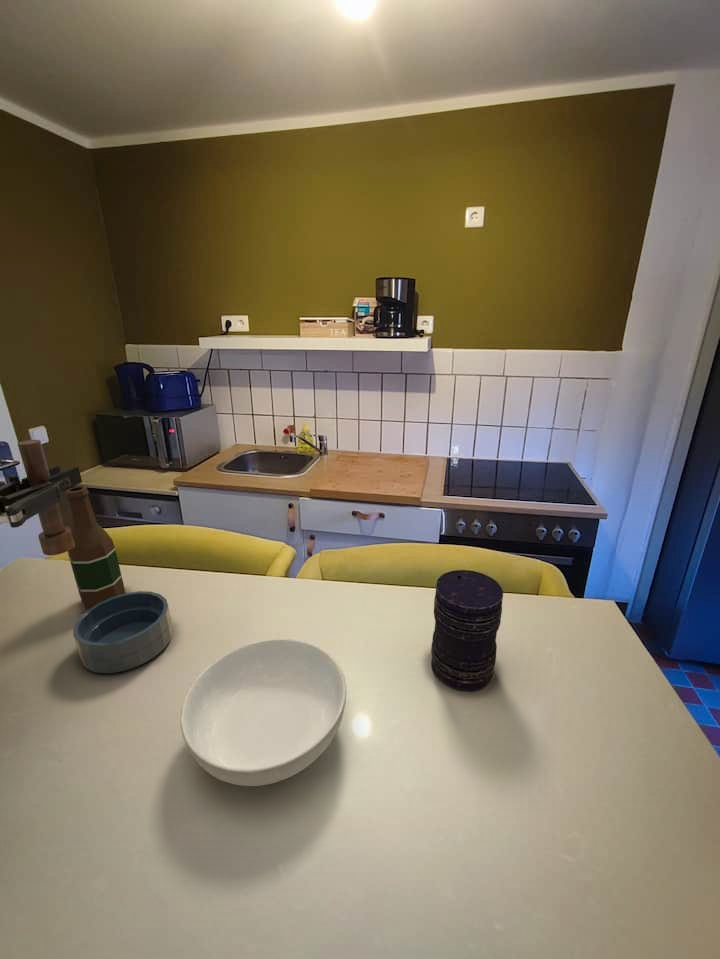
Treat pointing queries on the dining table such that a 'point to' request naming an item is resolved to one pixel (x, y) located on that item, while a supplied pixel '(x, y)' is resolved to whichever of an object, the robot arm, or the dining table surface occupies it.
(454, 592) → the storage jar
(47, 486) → the robot arm
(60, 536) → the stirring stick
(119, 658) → the blue round dish
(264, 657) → the serving bowl
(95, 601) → the beer bottle
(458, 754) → the dining table surface
